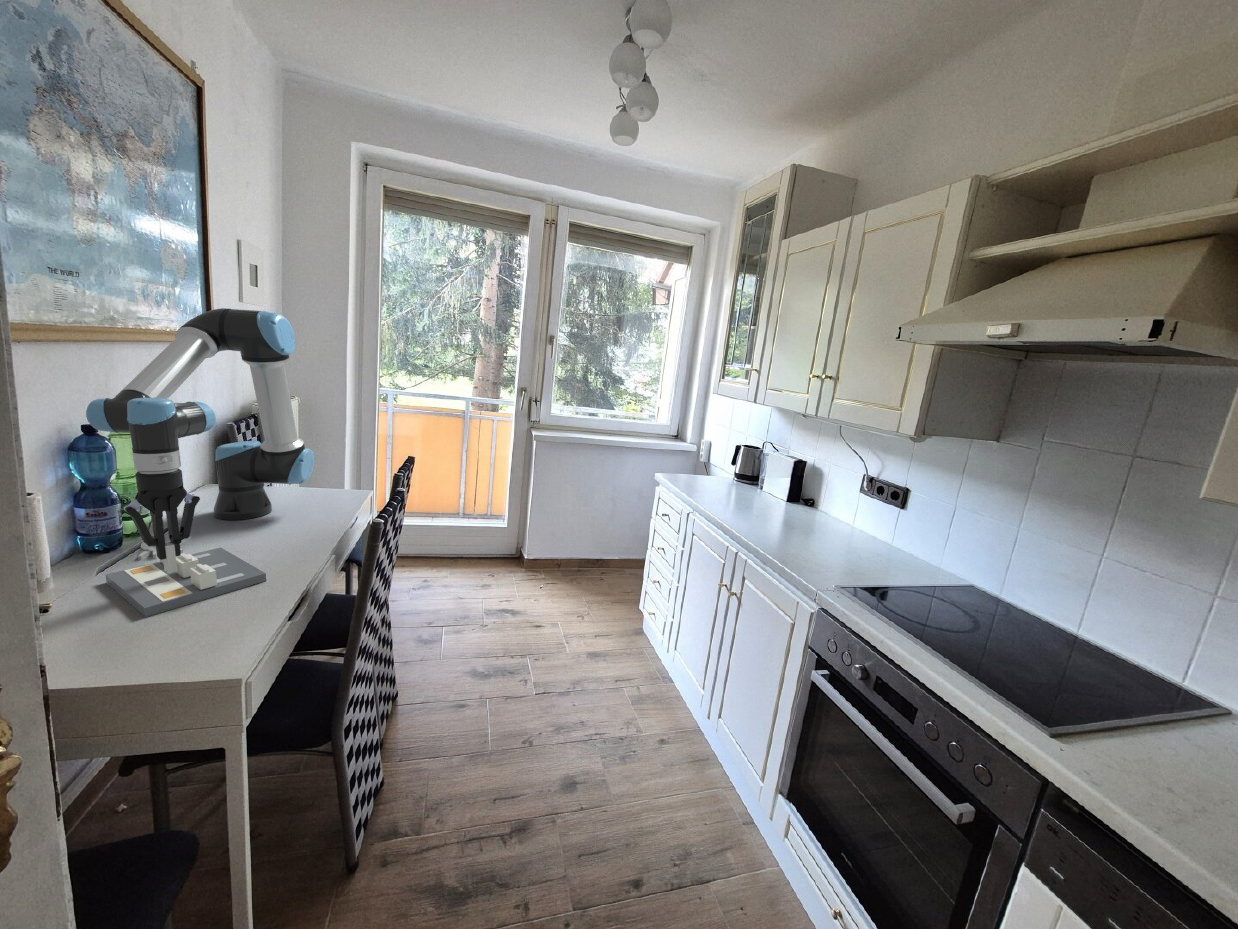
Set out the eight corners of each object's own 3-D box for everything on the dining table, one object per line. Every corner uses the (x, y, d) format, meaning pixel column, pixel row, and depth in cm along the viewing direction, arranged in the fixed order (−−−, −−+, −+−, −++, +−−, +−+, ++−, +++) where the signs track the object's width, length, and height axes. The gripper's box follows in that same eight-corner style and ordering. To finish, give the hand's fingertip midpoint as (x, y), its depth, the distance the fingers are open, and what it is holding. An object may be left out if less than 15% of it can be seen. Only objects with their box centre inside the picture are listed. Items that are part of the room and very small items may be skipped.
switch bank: (221, 554, 133) (220, 546, 133) (266, 581, 121) (265, 572, 120) (106, 582, 115) (105, 573, 114) (145, 617, 102) (144, 607, 102)
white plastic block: (207, 578, 115) (205, 561, 114) (217, 585, 113) (215, 568, 112) (191, 583, 113) (189, 566, 112) (200, 589, 110) (199, 572, 109)
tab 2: (191, 567, 120) (189, 551, 119) (200, 573, 117) (198, 557, 116) (175, 571, 117) (173, 555, 116) (183, 577, 115) (182, 561, 114)
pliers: (191, 533, 142) (171, 553, 129) (192, 538, 143) (172, 559, 129) (146, 535, 138) (120, 556, 125) (146, 541, 138) (121, 562, 125)
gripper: (124, 478, 102) (138, 585, 107) (202, 468, 113) (212, 566, 118) (111, 471, 106) (126, 575, 111) (188, 462, 117) (199, 557, 122)
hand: (171, 570), depth 115 cm, fingers closed
